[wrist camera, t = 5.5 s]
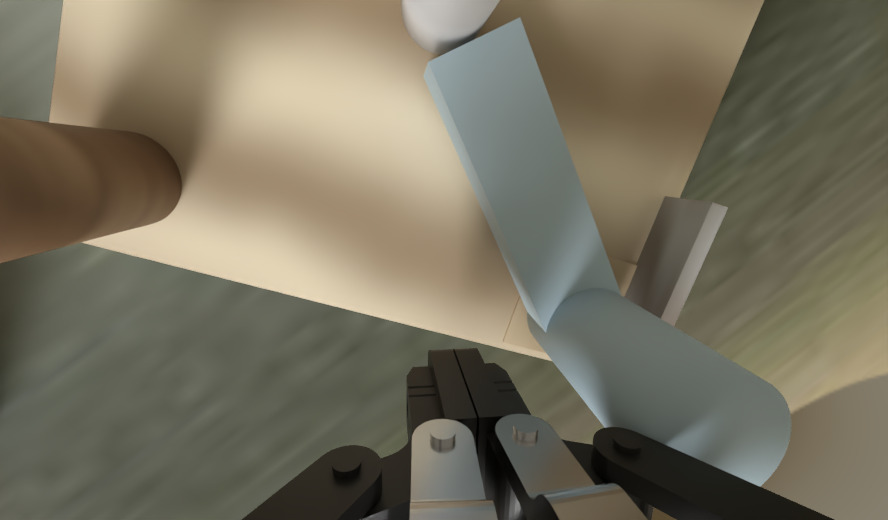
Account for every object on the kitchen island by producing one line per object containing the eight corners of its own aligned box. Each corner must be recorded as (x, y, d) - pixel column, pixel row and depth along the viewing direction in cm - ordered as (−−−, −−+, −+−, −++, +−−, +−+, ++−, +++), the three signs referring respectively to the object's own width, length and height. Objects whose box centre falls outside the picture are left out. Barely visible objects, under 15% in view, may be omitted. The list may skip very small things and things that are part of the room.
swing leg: (377, -12, 12) (351, -264, 5) (472, -58, 12) (584, -377, 5) (544, 364, 16) (670, 534, 9) (617, 328, 16) (804, 468, 9)
